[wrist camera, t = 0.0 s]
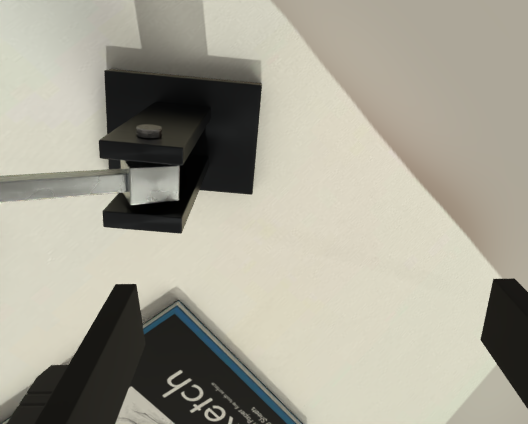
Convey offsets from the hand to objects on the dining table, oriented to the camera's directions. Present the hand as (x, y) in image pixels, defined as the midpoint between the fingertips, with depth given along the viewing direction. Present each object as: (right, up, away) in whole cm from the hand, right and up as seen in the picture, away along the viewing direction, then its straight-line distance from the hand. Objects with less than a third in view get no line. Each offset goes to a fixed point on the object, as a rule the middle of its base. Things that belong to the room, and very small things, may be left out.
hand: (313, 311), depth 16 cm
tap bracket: (-8, +10, +20) cm, 24 cm away
